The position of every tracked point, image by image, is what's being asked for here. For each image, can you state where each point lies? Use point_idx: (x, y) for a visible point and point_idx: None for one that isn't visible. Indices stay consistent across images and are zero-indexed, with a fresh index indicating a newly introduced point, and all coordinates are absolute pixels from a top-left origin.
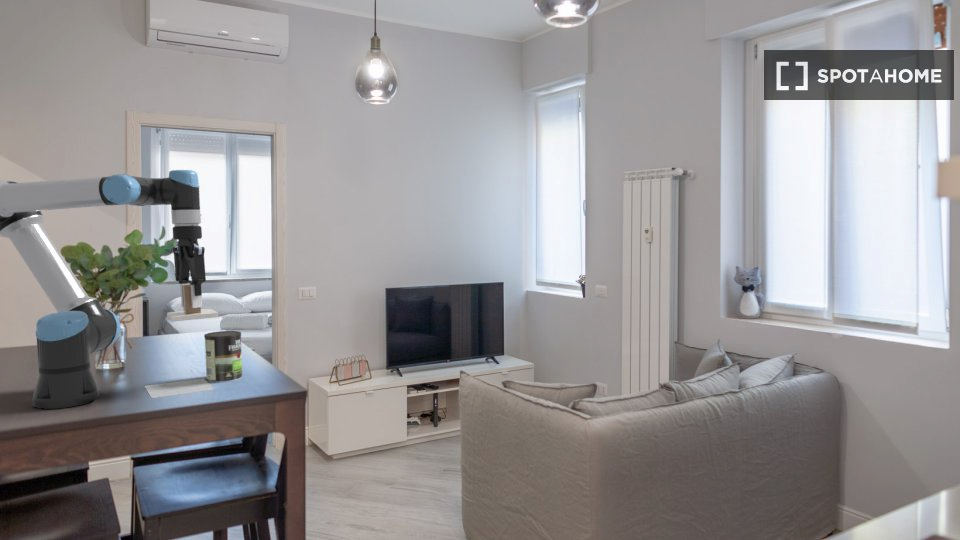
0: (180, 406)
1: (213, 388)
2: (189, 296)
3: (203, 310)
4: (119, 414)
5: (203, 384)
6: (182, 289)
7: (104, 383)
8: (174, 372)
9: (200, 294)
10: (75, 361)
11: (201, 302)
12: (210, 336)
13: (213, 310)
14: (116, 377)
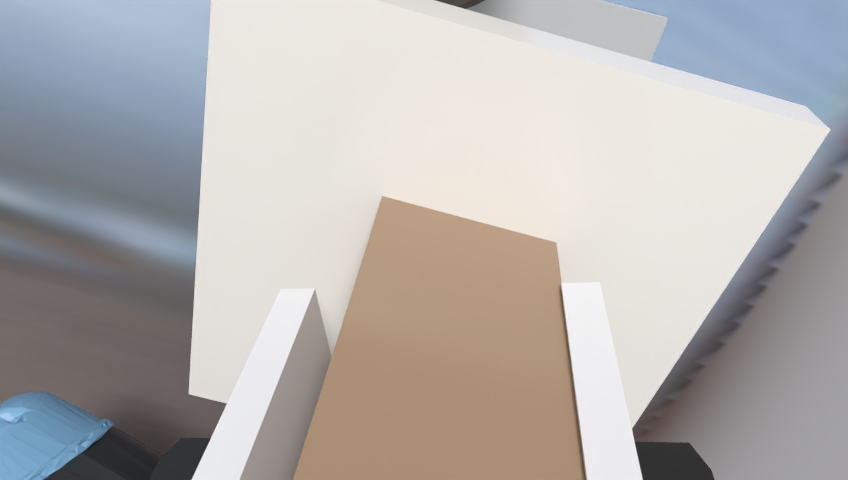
0: (764, 238)
1: (643, 16)
2: None
3: (343, 122)
4: None
5: (505, 13)
6: None
7: (106, 279)
8: None
9: (702, 473)
10: None
11: (606, 332)
12: (470, 5)
13: (482, 39)
14: (2, 213)
